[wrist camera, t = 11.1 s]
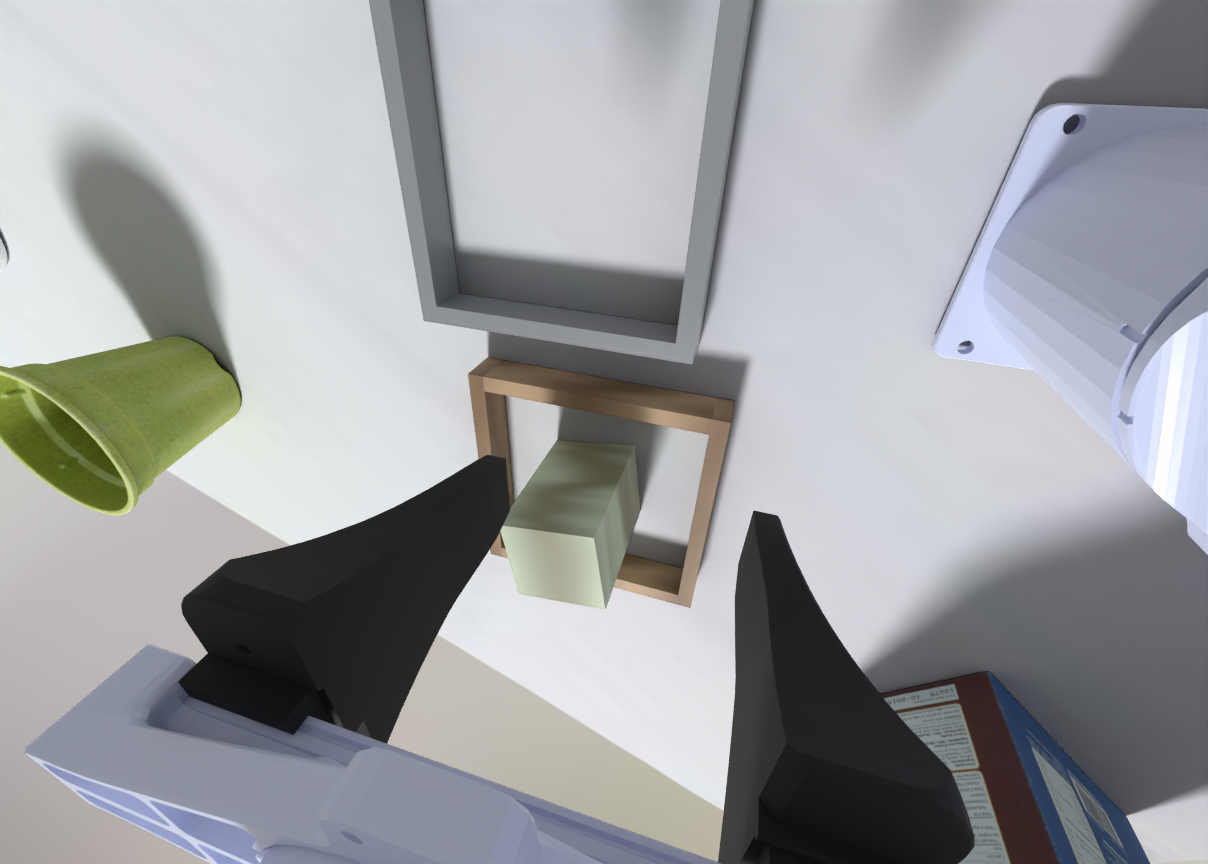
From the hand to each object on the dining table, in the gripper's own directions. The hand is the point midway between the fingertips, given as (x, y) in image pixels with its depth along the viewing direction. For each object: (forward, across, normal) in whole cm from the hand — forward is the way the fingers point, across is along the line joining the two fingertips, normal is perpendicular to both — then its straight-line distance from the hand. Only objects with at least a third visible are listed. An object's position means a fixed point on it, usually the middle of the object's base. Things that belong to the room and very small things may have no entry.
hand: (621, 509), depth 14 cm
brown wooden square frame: (+10, +3, +8) cm, 13 cm away
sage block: (+11, +3, +8) cm, 13 cm away
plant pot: (+11, +31, +7) cm, 34 cm away
